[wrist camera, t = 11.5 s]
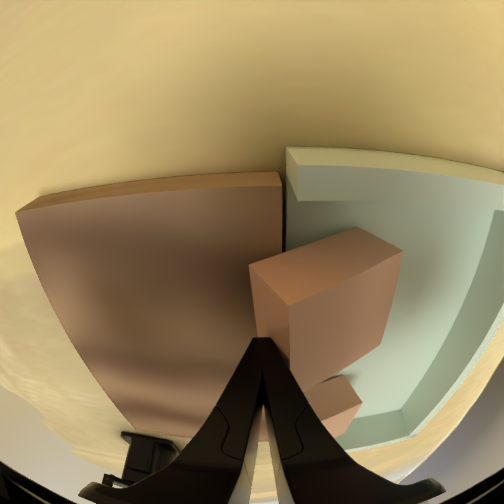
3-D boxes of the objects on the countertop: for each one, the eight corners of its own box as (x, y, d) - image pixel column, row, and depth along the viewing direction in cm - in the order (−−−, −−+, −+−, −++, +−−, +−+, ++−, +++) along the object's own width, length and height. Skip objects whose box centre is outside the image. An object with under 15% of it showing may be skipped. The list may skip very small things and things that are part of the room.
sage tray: (404, 407, 20) (413, 437, 17) (276, 425, 21) (277, 459, 18) (505, 172, 10) (548, 196, 6) (285, 146, 10) (298, 165, 7)
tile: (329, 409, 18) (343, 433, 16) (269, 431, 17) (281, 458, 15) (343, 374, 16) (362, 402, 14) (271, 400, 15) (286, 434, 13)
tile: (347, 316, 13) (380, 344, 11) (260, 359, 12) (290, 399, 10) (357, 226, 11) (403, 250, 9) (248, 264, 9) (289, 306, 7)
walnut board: (273, 421, 20) (273, 441, 19) (140, 411, 21) (135, 429, 19) (278, 171, 10) (282, 185, 9) (38, 197, 11) (14, 212, 9)
